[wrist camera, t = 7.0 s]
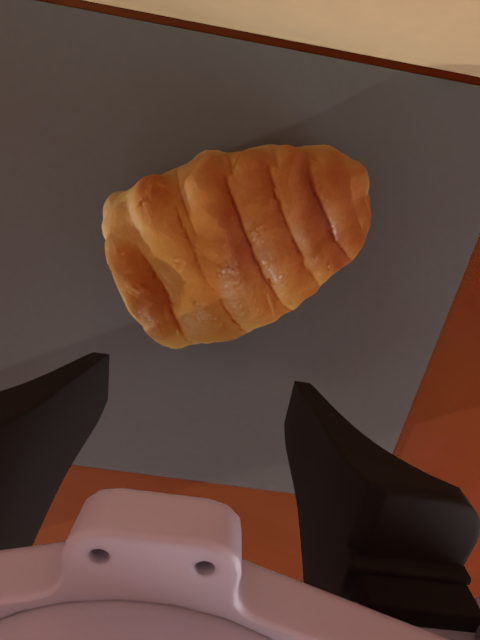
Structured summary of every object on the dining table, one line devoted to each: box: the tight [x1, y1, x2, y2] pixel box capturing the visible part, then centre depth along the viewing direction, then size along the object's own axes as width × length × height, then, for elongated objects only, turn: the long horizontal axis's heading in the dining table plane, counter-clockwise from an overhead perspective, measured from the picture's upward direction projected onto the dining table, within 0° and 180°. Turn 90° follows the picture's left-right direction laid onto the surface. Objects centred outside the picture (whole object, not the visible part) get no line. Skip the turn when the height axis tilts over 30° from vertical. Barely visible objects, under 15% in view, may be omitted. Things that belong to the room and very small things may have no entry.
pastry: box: [101, 144, 371, 349], centre depth 13 cm, size 9×7×4 cm
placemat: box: [0, 0, 480, 494], centre depth 16 cm, size 20×20×1 cm
